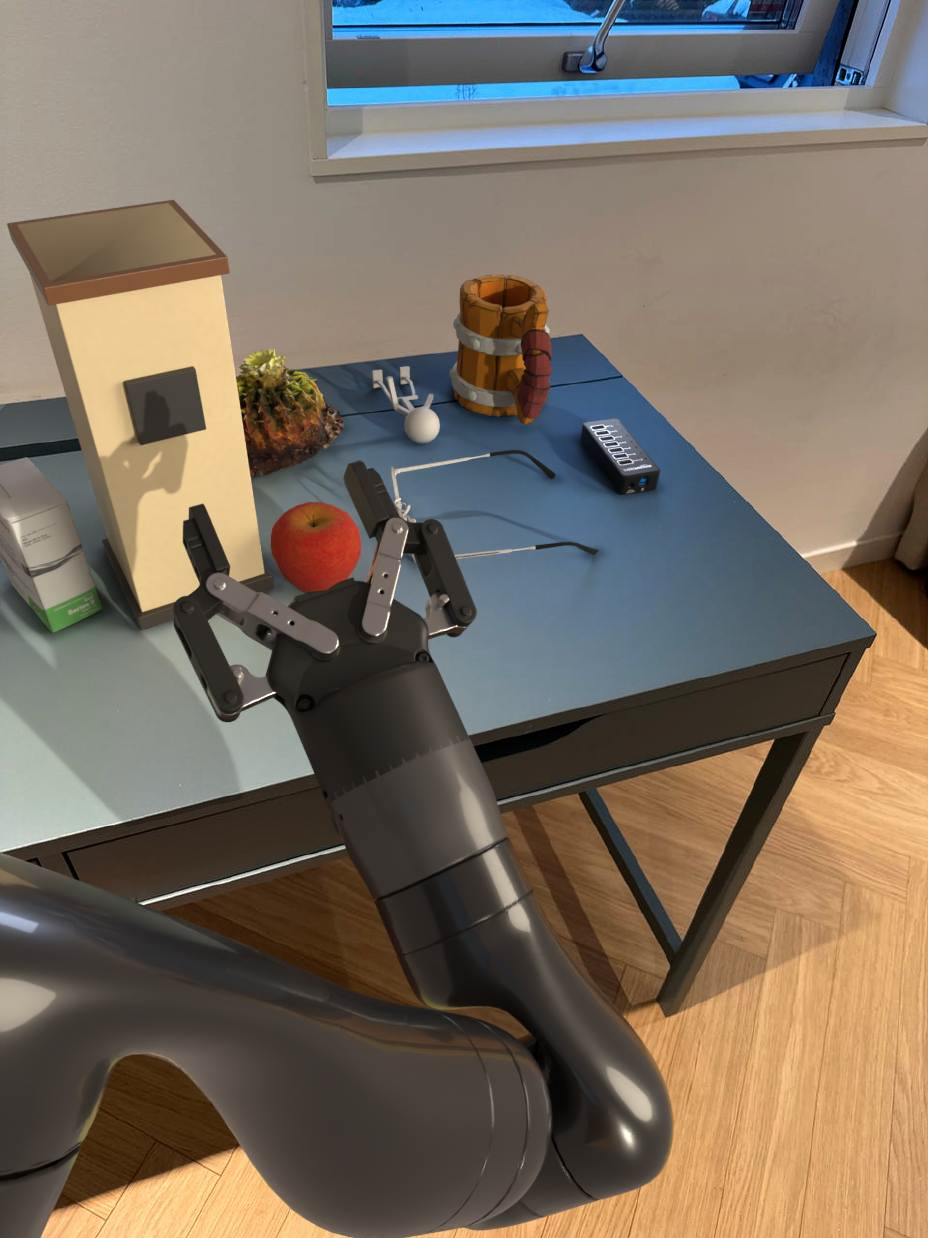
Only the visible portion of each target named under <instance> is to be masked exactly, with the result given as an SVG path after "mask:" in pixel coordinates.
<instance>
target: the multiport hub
mask: <svg viewBox="0 0 928 1238" xmlns="http://www.w3.org/2000/svg"><path fill="white" fill-rule="evenodd" d="M579 443H580V444H581V445H582V447H583V448H584V449H585V451H586V452H587V453H588V455H589V456H590V458H591V459H592V460H593V461H594V463H595V464H596V466H597V468H599V470H600V471H601V472H602V473H603V475H604V476H605V478H606V479H607V480H608V482H609V483H610V484H611V486H612V487H613V489H614V490H615V491H616V492H617V494H618V495H621V496H625V495H632V494H639V493H644V492H651V491H655V490H657V487H658V483H659V479H660V474H661V469H660V468H659V466H658V465H657V464H656V463H655V462H654V460H653V459H652V458H651V457H650V455H649V454H648V453H647V452H646V451H645V449H644V448H643V447H642V446H641V445H640V444H639V442H638V441H637V440H636V439H635V437H634V436H633V435H632V434H631V432H629V430H628V429H627V428H626V426H625V425H624V424H623V423H622V421H621V420H620V419H618V418H608V419H600V420H595V421H587V422H586V421H585V422H583V423H582V426H581V433H580V440H579Z"/></svg>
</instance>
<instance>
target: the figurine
mask: <svg viewBox="0 0 928 1238" xmlns="http://www.w3.org/2000/svg"><path fill="white" fill-rule="evenodd" d="M410 371H411V370H410V366H409V365H406V366H399V384H400V385H406V384H408V385H409V387H410V392H411V395H407V396H401V397H398V396H397V391H396V386H395V383H394V378H393V376H391V375H389V376H386V377H385V380H386V383H387V387H386V385H385V384H384V379H383V370H382V369H374V370H372V387H373V389H377V388H381V389H382V391H383V394H385V396H386V398H387V399H388V400H389V402H390V403H391V406H392V409H393V410H394V411H396V412H397V413H400V414H402V415H404V416H405V418H404V424H403V426H404V427H403V428H404V431H405V432H404V433H405V434H406V435H407V437H408V438H409V439H410V440H411V441H412V442H414V443H417V444H427V443H430V442H432V441H433V440H435V438H436V437H437V436H438V434H439V433H440V429H441V424H440V419H439V417H438V415H437V413H436V412H435V411H433V410H432V409H431V408H430V407H431V405H432V402H433V400H434V393H429V394H428V395H427V398H426V401H425V403H424V404H423V405H422V406H418V407H416V408H415V407H414V406H413V404H412V402H411V401H413V400H418V399H419V396H418V394H416V390H415V387H414V382H413V381H412V380H411V379H410V378H411V376H410V375H411V373H410ZM399 402H401V404H402V405H403V406H402V405H400V404H399Z"/></svg>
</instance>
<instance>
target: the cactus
mask: <svg viewBox="0 0 928 1238" xmlns="http://www.w3.org/2000/svg"><path fill="white" fill-rule="evenodd" d="M248 356H249V357H250V358H249V357H248V358H244V359H243V363H242V364H240V366H238V368H239V369H241V370H242V371H240V372H239V374H238V376H237V377H236V382H237V389H238V396H239V402H240V409H241V416H242V423H243V429H244V436H245V443H246V450H247V457H248V463H249V470H250V476H252V478H256V476H257V475H260V476H262V477H266V476H270V475H271V474H273V473H275V472H279V471H281V470H285V469H289V468H291V467H294V466H298V465H301V464H302V463H305V462H306V461H308V460H310V459H312V458H313V457H315V456H317V454H318V453H319V452H320V450H326V449H327V448H328V447H329V446H330V445H331V444H332V443H333V442H334V440H335V439H337V437H339V436H340V435H339V434H341V433H342V432H343V429H344V427H345V425H344V419H343V416H342V415H341V413H340V411H339V410H337V409H336V408H335V407H334V406H332V405H331V404H330V403H328V404H327V403H325V401H324V399H323V397H324V394H323V393H322V392H321V391H320V390H319V387H318V385H317V384H316V383H315V381H317V380H318V379H317V378H316V379H315V378H314V379H313V377H312V376H309V374H307V373H306V372H303V371H297V370H296V368H295V367H291V368H289V367H286V366H284V365H285V363H286V360H287V359H286V355H281V354H280V353H276V349H275V348H273V349H270V348H268V349H267V350H263V349H260V351H256V352H250V353H249V354H248Z"/></svg>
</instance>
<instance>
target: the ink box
mask: <svg viewBox="0 0 928 1238" xmlns="http://www.w3.org/2000/svg"><path fill="white" fill-rule="evenodd" d="M75 523H76V522H75V520H74V517H73V514H72V511H71V509H70V505H69V502H68V500H66V499H65V497H64V496H63V495H62V494H61V493H60V492H59V491H58V489H56V488H55V486H54V485H53V484H52V483H51V482H50V481H49V480H48V478H47V477H46V476H45V475H44V474H43V473H42V472H41V471H40V470H39V469H38V467H37V466H36V465H35V464H34V463H33V462H32V461H31V460H30V459H29V457H22V458H18V459H16V460H13V461H9V462H7V463H3V464H0V557H1V560H2V562H3V564H4V567H5V570H6V572H7V575H8V577H9V580H10V582H11V585H12V586H13V588H14V589H15V590H16V591H17V593H18V594H19V596H21V597H22V599H23V600H24V601H25V602H26V603H27V605H28V606H29V607H30V608H31V609H32V610H33V612H34V613H35V614H36V616H37V617H38V618H39V620H40V621H41V622H42V623H43V624H44V625H45V626H46V628H47V629H48V630H49V632H51V633H57V632H58V631H61V630H63V629H65V628H67V627H69V626H71V625H73V624H76V623H78V622H80V621H82V620H84V619H87V618H88V617H90V616H92V615H94V614H96V613H98V612H100V611H101V610H103V606H102V601H101V599H100V597H99V594H98V591H97V588H96V584H95V581H94V579H93V575H92V573H91V569H90V567H89V563H88V560H87V557H86V554H85V552H84V549H83V546H82V542H81V539H80V536H79V533H78V529H77V526H76V524H75Z"/></svg>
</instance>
